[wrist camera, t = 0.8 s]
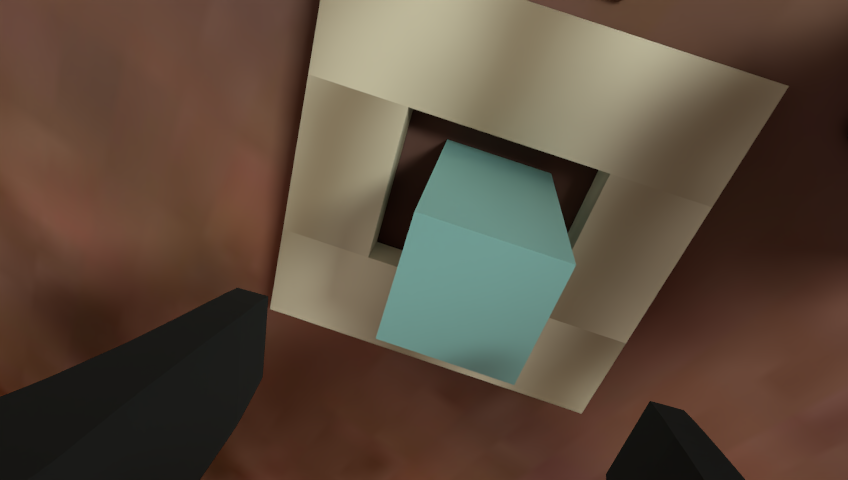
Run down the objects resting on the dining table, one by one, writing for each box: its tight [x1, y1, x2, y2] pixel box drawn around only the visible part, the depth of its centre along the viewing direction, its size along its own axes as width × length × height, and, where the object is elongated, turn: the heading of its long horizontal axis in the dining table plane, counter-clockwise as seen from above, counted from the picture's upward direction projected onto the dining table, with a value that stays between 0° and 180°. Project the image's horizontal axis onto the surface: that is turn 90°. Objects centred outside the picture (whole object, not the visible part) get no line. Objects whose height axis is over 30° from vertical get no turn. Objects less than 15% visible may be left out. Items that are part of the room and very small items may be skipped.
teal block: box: [376, 139, 576, 385], centre depth 15 cm, size 4×4×7 cm
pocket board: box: [270, 0, 789, 414], centre depth 18 cm, size 14×14×1 cm
